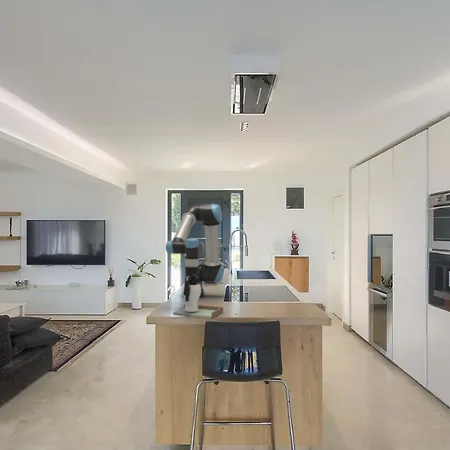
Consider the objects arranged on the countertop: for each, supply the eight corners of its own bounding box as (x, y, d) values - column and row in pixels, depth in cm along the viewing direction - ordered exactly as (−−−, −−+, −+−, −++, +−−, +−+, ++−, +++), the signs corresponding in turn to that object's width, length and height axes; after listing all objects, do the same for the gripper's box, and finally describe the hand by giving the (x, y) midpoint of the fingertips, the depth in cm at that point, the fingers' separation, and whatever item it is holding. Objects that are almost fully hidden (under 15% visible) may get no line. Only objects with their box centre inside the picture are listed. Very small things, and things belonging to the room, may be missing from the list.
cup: (182, 312, 237) (183, 285, 236) (181, 308, 247) (181, 282, 247) (202, 312, 239) (202, 285, 238) (199, 308, 249) (199, 282, 249)
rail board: (184, 309, 255) (184, 304, 255) (222, 312, 247) (222, 307, 247) (173, 314, 240) (173, 309, 240) (213, 318, 232) (213, 312, 232)
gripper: (193, 263, 254) (193, 301, 255) (177, 268, 233) (176, 308, 233) (205, 264, 252) (204, 301, 252) (190, 268, 230) (189, 309, 231)
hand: (191, 305), depth 243 cm, fingers closed on cup, 11 cm apart
